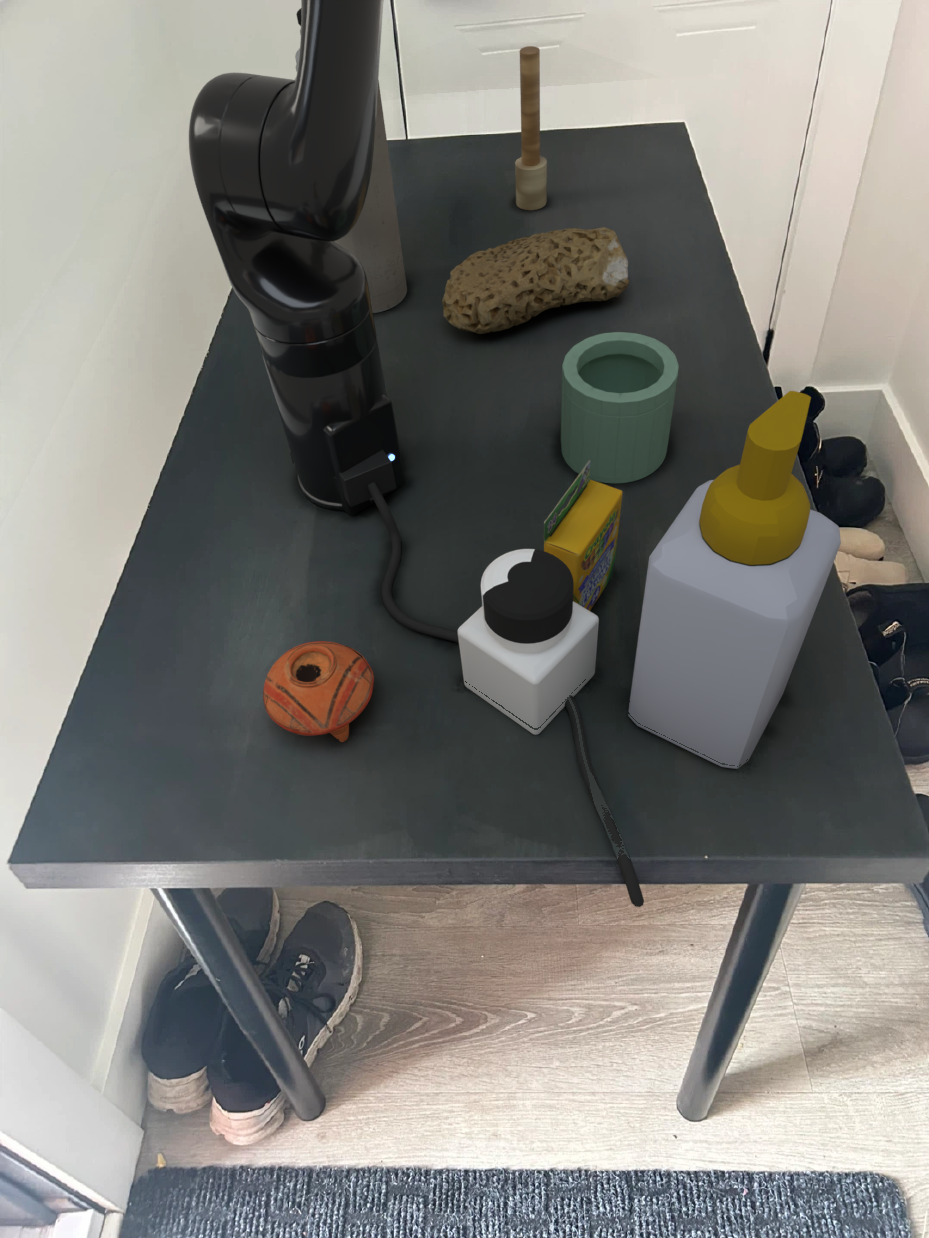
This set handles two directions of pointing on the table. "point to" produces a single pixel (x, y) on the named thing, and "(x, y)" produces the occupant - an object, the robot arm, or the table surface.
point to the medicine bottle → (528, 638)
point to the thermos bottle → (377, 225)
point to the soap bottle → (732, 597)
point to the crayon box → (586, 535)
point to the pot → (318, 689)
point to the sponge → (534, 278)
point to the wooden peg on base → (530, 136)
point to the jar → (617, 405)
